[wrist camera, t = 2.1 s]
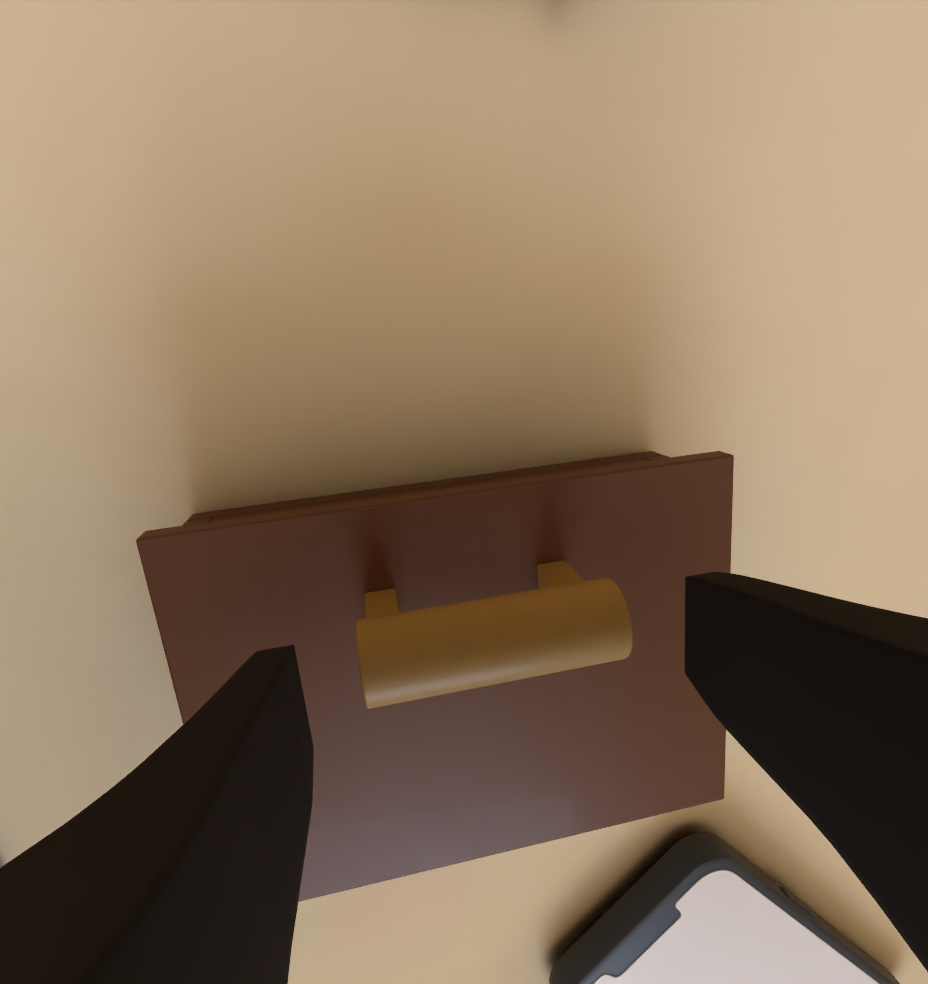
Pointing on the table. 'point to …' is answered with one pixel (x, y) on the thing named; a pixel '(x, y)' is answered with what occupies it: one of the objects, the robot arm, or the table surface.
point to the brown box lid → (467, 655)
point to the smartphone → (712, 930)
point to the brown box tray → (419, 487)
